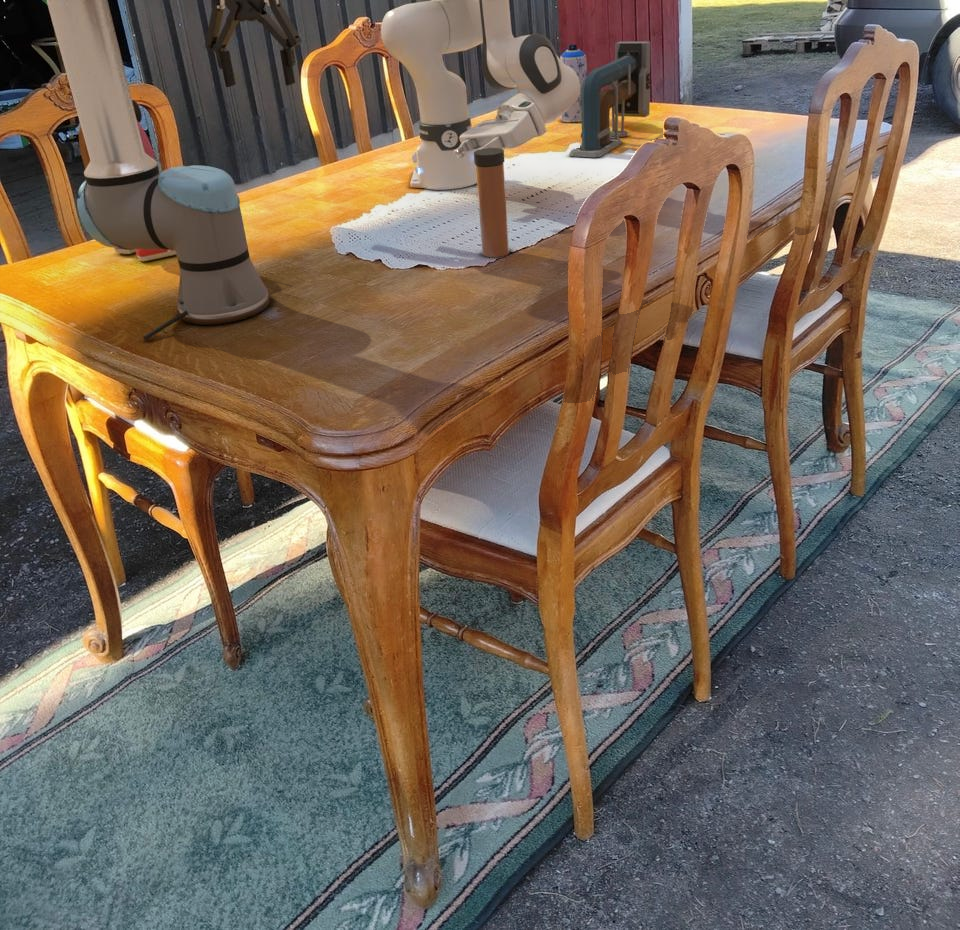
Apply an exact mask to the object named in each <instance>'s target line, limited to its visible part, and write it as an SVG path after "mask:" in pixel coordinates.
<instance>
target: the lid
mask: <svg viewBox="0 0 960 930" xmlns="http://www.w3.org/2000/svg"><path fill="white" fill-rule="evenodd" d="M474 163H475V165H478V166H494V165H499V164H502V163H505V149H500V148H485V149H480V150H477V151H475V152H474Z"/></svg>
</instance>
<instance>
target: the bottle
mask: <svg viewBox="0 0 960 930" xmlns="http://www.w3.org/2000/svg"><path fill="white" fill-rule="evenodd" d="M504 163H505V162H504ZM504 163H502V164H499V165H494V166H478V165H476V176H477V183H476V188H477V201H478V216H479V227H480V228H479V229H480V240H481V253H482V254H481V255H482V256H484V257H487V258H500V257H504V256H506V255H508V254H509V253H510V247H509V230H508V228H509V227H508V217H507V216H508V214H507V213H508V212H507V197H506V180H505V166H504V165H505V164H504Z"/></svg>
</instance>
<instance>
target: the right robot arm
mask: <svg viewBox="0 0 960 930" xmlns="http://www.w3.org/2000/svg"><path fill="white" fill-rule="evenodd" d="M510 11H511V9H510V0H425V1H417V2H412V3H405V4H403V5H400V6H398V7H396V8H393V9H391V10H389V11H387V12H386V13H385V15H384V17H383V19H382V22H381V24H380V25H381V26H380V37H381V41H382V45H383V47H384V48H385V50H386V51H387V53H388V55H390V56H391V57H393V58H394V59H396V60H397V61H399V63H400V64H402V65H403V66H404V68H405V69H406V71H407V72H408V73H409V76H410V77H411V79H412V81H413V84H414V87H415V91H416V97H417V103H418V111H419V112H418V113H419V119H420V121H419V122H418V132H419V138H420V142H419V145H418V146H417V149H415V152H413V153H412V155H411V157H412V163H413V164H416V165H414V166H415V167H414V169H413V172H412V175H411V179H410V181H409V183H410V188H416V189H417V188H418V189H419V188H421V189H428V190H437V191H438V190H439V191H440V190H442V191H443V190H445V191H446V190H456V189H463V188H467V187H470V186H474V185H477V176H476V165H475V163H474V152H475V151H477V150H480V149H485V148H500V149H503V150H506V149H507V150H509V149H515V148H516V149H517V148H519V147H521V146H523V145H524V144H526V143H528V142H530V141H531V140H533V139H535V138H539V137H541V136H543V135H545V134H546V133H547V128H546V125H547V124H551V123H553V122H555V121H556V120H558V119H559V118H561V115H563V114H564V113H565V112H566V111H567V110H569V109H570V108H571V107H572V106H573V105H574V104H575V102H576V101H577V99H578V97H579V94H580V82H579V79H578V76H577V74H576V73H575V71H574V70H573V69H572V68H571V67H569V66H567V65H565V64H564V63H563V62H562V61H561V60H560V56H558V55H557V52H556V49H555V47H554V44H553V43H552V42H551V40H550V39H549V38H548V37H546V36H545V35H543V34H540V33H532V34H526V35H519V36H517V37H515V36H514V35H513V31H512V24H511V23H512V21H511V12H510ZM479 45H482V49H481V58H480V67H481V72H482V75H483V78H484V80H485V81H486V83H487V84H488V85H489V86H490V87H491V88H493V89H494V90H497V91H499V92H507V91H510V90H515V89H517V93H516V94H514V95H513V96H511V98H509V99H507V100H506V101H504V102H502V103H501V104H500V105H499V106H498V107H497V111H496V113H497V114H496V116H495V118H491V119H485V120H483V121H481V122H478V123H477V124H475V125H473V126H472V121H471V118H470V116H469V106H468V93H467V85H466V83H465V81H464V80H463V78H462V77H461V76H460V75H458V74H456V73H454V72H453V71H450V70H448V69H447V67H446V65H445V62H444V59H443V58H444V57H443V55H446V54H447V55H448V54H452V53H458V52H464V51H468V50H471V49H473V48H475V47H477V46H479Z"/></svg>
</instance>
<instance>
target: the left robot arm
mask: <svg viewBox="0 0 960 930" xmlns="http://www.w3.org/2000/svg"><path fill="white" fill-rule="evenodd" d="M46 4H47V7H48V12H49V15H50V19H51V22H52V26H53V29H54V33H55V37H56V40H57V44H58V47H59V51H60V54H61V55H60V56H61V58H62V63H63V66H64V69H65V73H66V77H67V80H68V85H69V87H70V91H71V96H72V98H73V101H74V106H75V109H76V113H77V116H78V121H79V123H80V124H81V128H82V132H83V135H84V139H85V143H86V146H87V150H88V153H89V157H90V163H89V164H88V166H87V168H86V169H85V168H84V171H83V176H84V179H85V180H84V181H83V182H82V183H81V185H80V186H79V189H78V193H77V194H78V196H79V198H77V199H76V205H77V211H78V212H77V213H78V215H79V219H80V221H81V224H82V226H83V228H84V229H85V231H86V232H87V233H88V235H89V236H90V237H91V238H92V239H93V240H95V241H96V242H97V243H99V244H100V245H102V246H105V247H108V248H120V249H124V250H133V249H159V250H175V251H176V255H175V256H176V258H177V262H178V266H179V283H178V294H177V310H178V314H177V315H175V316H174V317H173V318H171V319H169V320H167V321H166V322H164V323H162V324H160V325H159V326H158V327H156V328H155V329H153V330H151V331H150V332H148V333H146V334H145V335H143V340H144V341H146V340H148V339H150V338H152V337H153V336H155V335H156V334H159V332H161V331H163V330H165V329H166V328H168V327H169V326H171V325H172V324H174V323H176V322H178V321H179V320H181V319H182V320H183V321H184V322H186V323H189V324H193V325H202V326H203V325H204V326H205V325H206V326H210V325H222V324H230V323H233V322H239V321H241V320H245V319H248V318H251V317H253V316H256V315H258V314H260V312H263V311H264V310H265V309H266V308H267V307H268V306H269V305H270V296H269V291H268V288H267V287H266V284H265V283H264V282H263V280H262V278H261V276H260V274H259V272H258V270H257V269H256V267H255V265H254V264H253V262H252V260H251V257H250V251H249V246H248V241H247V236H246V232H245V226H244V225H245V224H244V220H243V216H242V210H241V206H240V204H241V199H240V196H239V194H238V191H237V188H236V184H235V181H234V179H233V177H232V176H231V175H230V174H229V173H227V171H225V170H223V169H221V168H217V167H214V166H208V165H198V164H197V165H195V164H194V165H187V166H185V165H180V166H173V167H169V168H166V169H164V170H162V171H161V172H160V170H159V165H158V161H157V160H156V159H155V160H154V159H153V158H151V157H150V156H148V155H147V154H146V153H145V151H144V147H143V143H142V139H141V135H140V131H139V127H138V123H137V119H136V115H135V111H134V107H133V103H132V100H133V99H132V95H131V91H130V87H129V83H128V79H127V74H126V70H125V67H124V63H123V59H122V58H123V57H122V54H121V50H120V46H119V42H118V38H117V34H116V30H115V26H114V22H113V17H112V13H111V9H110V6H109V1H108V0H46ZM210 4H211V5H210V6H211V14H210V17H209V23H208V27H207V33H206V38H205V43H204V47H205V49H206V50H211V51H214V53H215V57H216V62H217V66H218V68H219V70H222V75H223V79H224V85H225V88H230V87H233V86H235V85H236V79H235V73H234V69H233V63H232V58H231V53H230V50H227V48H226V47H227V46H228V44H229V41H230V39H231V37H232V35H233V33H234V31H235V29H236V27H237V25H238V23H240V22H246V21H248V22H254V21H257V22H258V23H260V24H261V25H262V26H263V27H264V28H265V29H266V31H267V32H268V33H269V34H270V35H271V36H272V37H273V38H274V39H275V40H276V41H277V43H278V45H280V46H281V47H282V48H281V49H279V53H280V59H281V64H282V65H281V66H282V71H283V77H284V83H285V86H291V85H294V84H295V83H296V80H295V79H296V78H295V73H294V66H296V56H295V49H294V48H295V47H296V46H298V45H301V44H302V37H301V36H300V35H299V33H298V31H297V30H296V28H295V26H294V25H293V22H292V21H291V19H290V18H289V15H288V14H287V12H286V11H285V9H284V7H283V5H282V1H281V0H210ZM266 5H267V7H268V8H270V10H271V13H272V14H273V16H274V17H275V19H276V21H277V22H278V24H277V23H276V22H275V20H274V19H273V18H272V16H271V14H270V13H269V12H268V11H267V9H265V6H266ZM225 8H227V9H228V11H229V12H228V14H227V16H226V18H225V23H224V25H223V27H222V29H221V25H222V22H223V21H222V20H223V15H224V10H225ZM220 30H221V31H220Z"/></svg>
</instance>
